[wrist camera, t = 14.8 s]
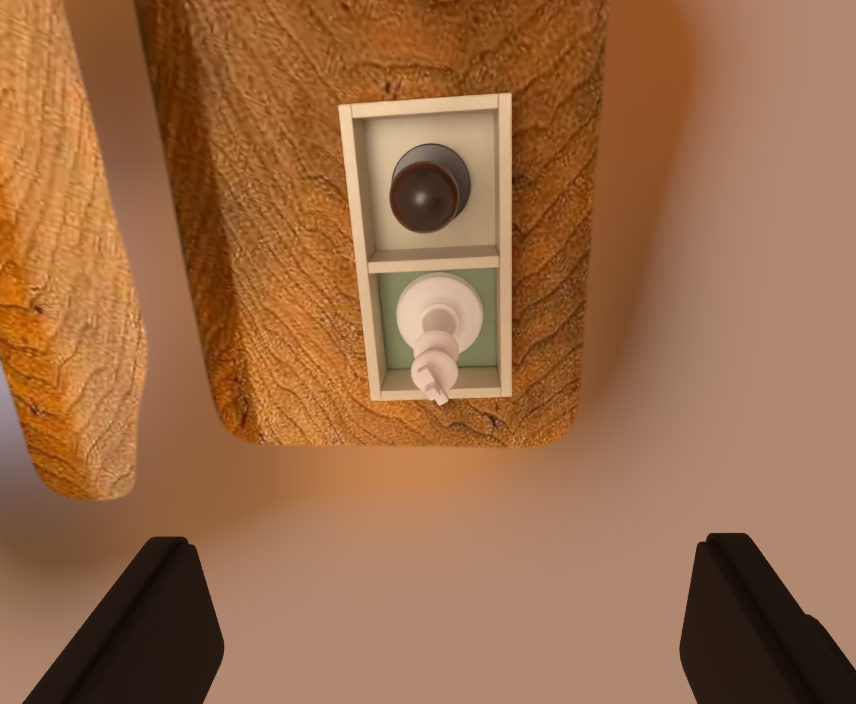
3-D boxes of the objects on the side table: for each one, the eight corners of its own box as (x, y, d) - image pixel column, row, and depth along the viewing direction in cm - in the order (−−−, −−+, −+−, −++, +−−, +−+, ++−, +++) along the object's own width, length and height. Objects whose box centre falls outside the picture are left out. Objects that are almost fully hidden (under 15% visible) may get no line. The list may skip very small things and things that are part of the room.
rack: (504, 98, 26) (512, 92, 23) (506, 369, 32) (512, 397, 28) (352, 109, 27) (337, 104, 23) (379, 374, 32) (370, 401, 29)
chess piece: (425, 369, 31) (412, 467, 22) (379, 299, 29) (345, 372, 20) (499, 329, 30) (518, 415, 20) (455, 255, 28) (455, 311, 19)
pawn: (421, 126, 26) (407, 120, 19) (485, 174, 27) (497, 187, 19) (378, 194, 28) (349, 215, 20) (440, 238, 28) (435, 274, 21)
